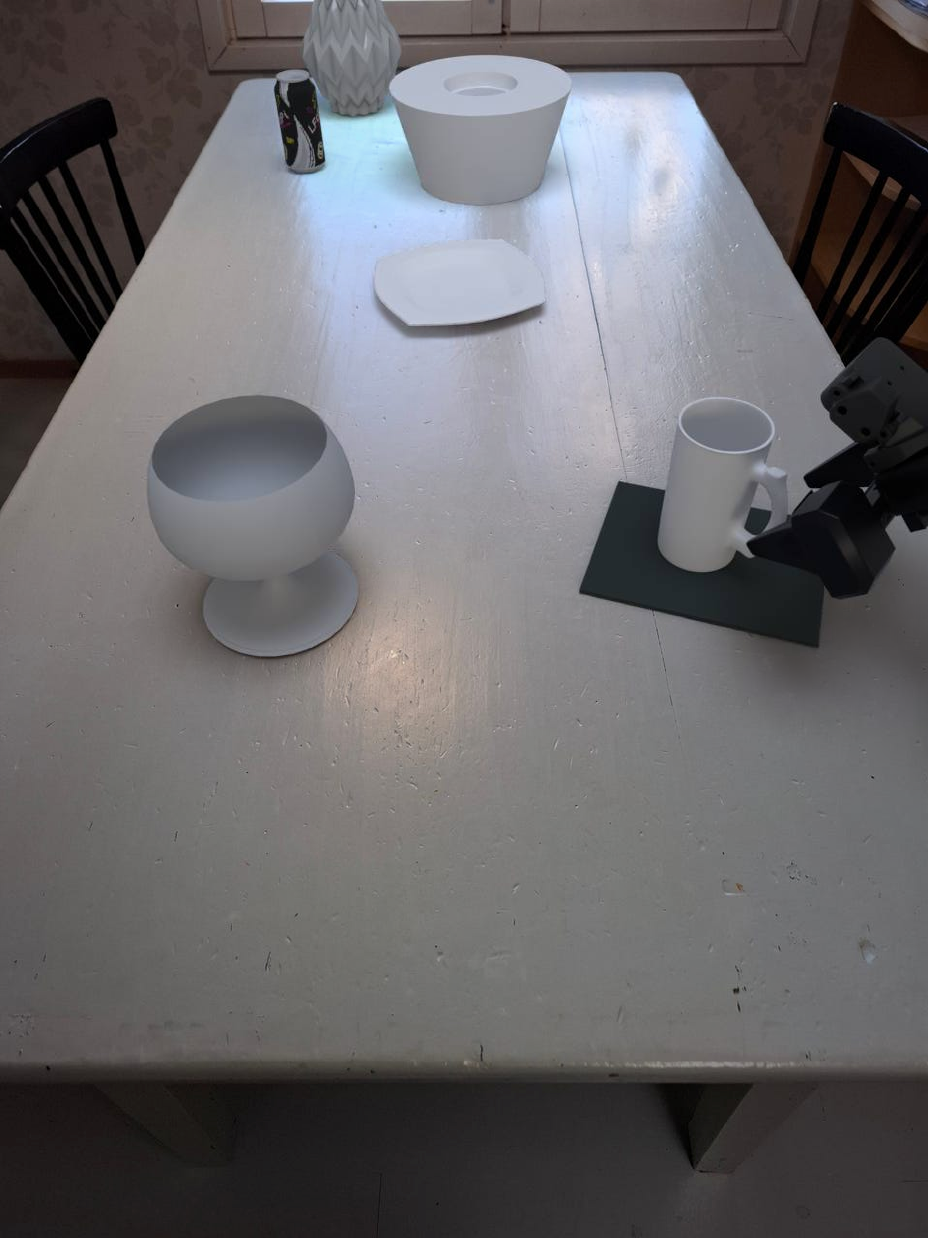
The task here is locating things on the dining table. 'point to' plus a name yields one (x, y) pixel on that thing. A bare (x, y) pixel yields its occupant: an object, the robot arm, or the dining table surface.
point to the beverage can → (299, 121)
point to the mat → (699, 575)
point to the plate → (458, 282)
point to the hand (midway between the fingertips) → (779, 513)
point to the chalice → (258, 519)
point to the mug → (717, 483)
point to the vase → (351, 53)
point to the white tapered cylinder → (481, 124)
